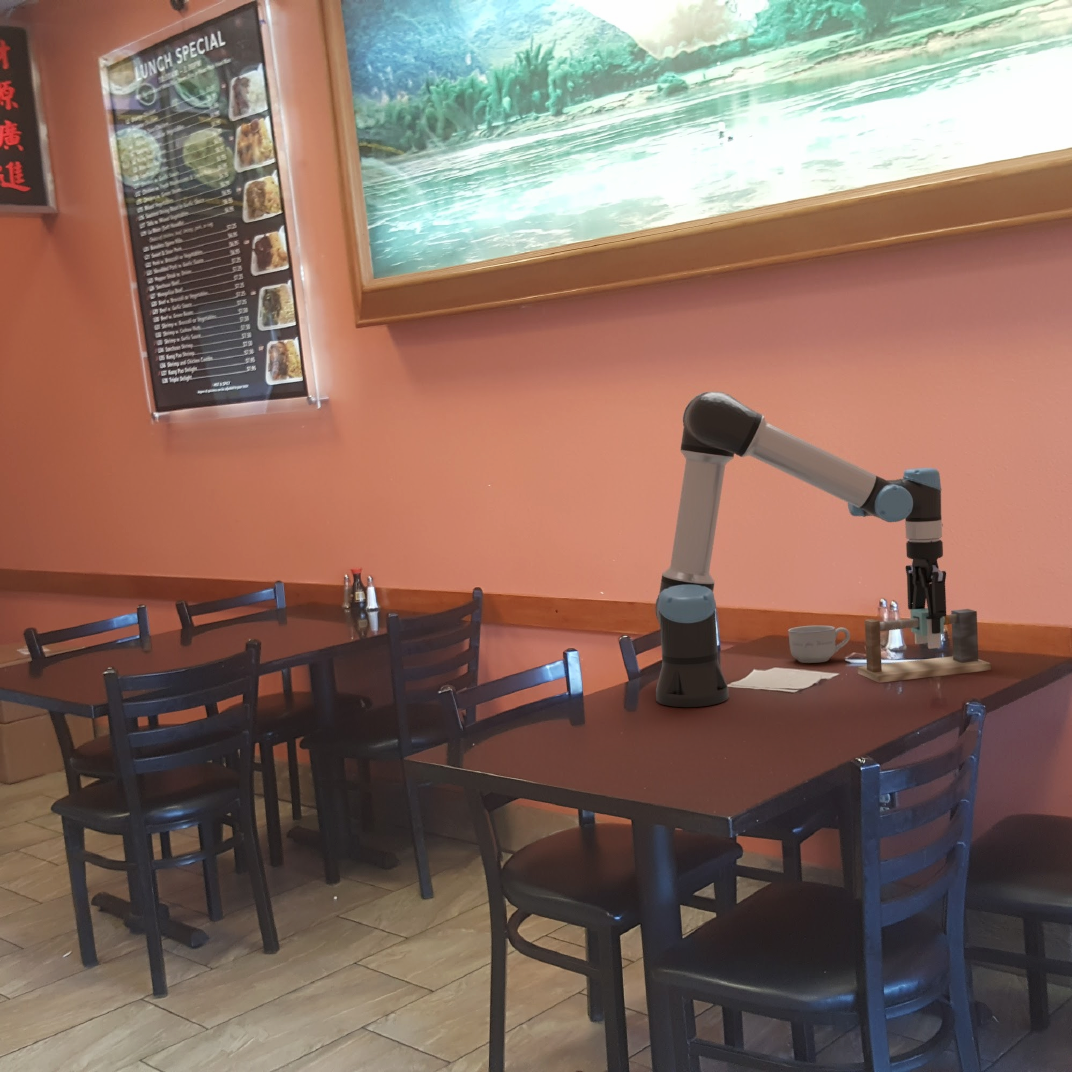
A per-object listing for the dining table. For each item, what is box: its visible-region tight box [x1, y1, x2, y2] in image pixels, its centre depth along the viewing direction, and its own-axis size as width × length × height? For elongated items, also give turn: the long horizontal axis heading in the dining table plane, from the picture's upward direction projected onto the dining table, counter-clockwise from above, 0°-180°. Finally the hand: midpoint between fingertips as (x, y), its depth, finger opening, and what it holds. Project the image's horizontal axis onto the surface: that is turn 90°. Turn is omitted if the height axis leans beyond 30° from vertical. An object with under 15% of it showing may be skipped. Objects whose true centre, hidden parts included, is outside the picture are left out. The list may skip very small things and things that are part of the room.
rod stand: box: [857, 608, 992, 683], centre depth 261 cm, size 26×10×12 cm, turn 100°
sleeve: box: [910, 607, 945, 636], centre depth 261 cm, size 5×5×5 cm
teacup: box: [787, 625, 851, 664], centre depth 279 cm, size 14×11×8 cm
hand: (927, 645), depth 261 cm, fingers closed on sleeve, 5 cm apart
